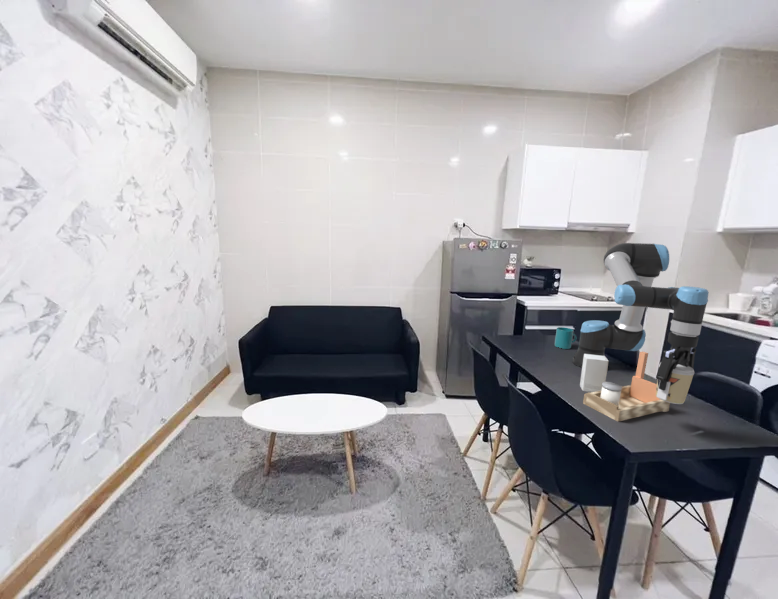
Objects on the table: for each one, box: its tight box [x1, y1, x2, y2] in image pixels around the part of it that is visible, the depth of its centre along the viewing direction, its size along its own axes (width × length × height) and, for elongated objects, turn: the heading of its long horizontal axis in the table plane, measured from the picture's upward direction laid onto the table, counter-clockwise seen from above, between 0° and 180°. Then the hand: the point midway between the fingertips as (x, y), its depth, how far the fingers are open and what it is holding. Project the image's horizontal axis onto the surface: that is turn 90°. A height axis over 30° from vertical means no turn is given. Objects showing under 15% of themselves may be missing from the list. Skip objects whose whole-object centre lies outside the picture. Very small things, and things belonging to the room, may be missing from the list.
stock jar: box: [600, 381, 622, 406], centre depth 127 cm, size 6×6×10 cm
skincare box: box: [579, 354, 610, 393], centre depth 144 cm, size 8×7×16 cm
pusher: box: [629, 351, 661, 403], centre depth 134 cm, size 4×11×19 cm, turn 22°
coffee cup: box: [656, 362, 696, 405], centre depth 116 cm, size 9×9×12 cm
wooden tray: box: [582, 384, 671, 422], centre depth 131 cm, size 29×14×6 cm, turn 112°
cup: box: [554, 326, 577, 350], centre depth 204 cm, size 9×12×11 cm
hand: (670, 396), depth 117 cm, fingers closed on coffee cup, 9 cm apart
